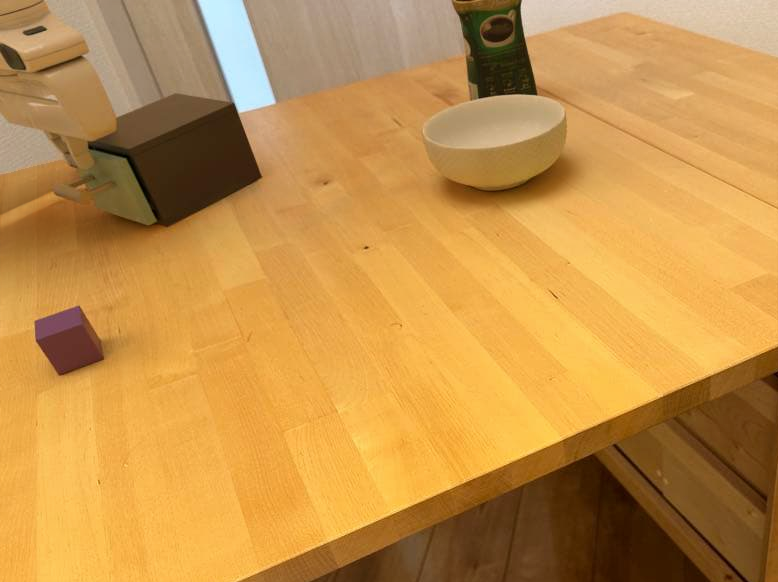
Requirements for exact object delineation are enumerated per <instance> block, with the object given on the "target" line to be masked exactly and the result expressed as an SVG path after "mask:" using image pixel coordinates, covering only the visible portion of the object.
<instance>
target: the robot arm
mask: <svg viewBox="0 0 778 582" xmlns="http://www.w3.org/2000/svg"><path fill="white" fill-rule="evenodd" d="M89 52H90V49H89V46H88V44H87V41H86V40H85V38H84V36H83V35H82V33H81V32H80V31H79V30H77V29H75V28H74V27H72V26H70V25H69V24H67V23H65V22H64V21H63V20H62V19H60V18H59V17H58V16H57V15H56V14H55V13H54V12H51V10H50V8H49V6H48V4H47V2H46V0H0V114H1V116H3V118H4V119H5V120H6V121H7V122H8V123H10V124H13V125H18V126H22V127H25V128H30V129H34V130H39V131H43V133H44V134H45V136H46V138H47V140H48V141H49V142H50V143H51V144H52V145H53V146H54V147H55V149H56V150H58V152H59V153H60V154H61V156H62V157H63V159H64V161H65V162H66V164H67V166H68V167H71V168H73V169H74V168H78V169H82V170H86V169H88V168H90V167H93V166H94V160H93V158H92V156H91V155H90V153H89V151H88V150H89V149H88V142H87V141H94V140H97V139H99V138H102V137H104V136H107V135H109V134H111V133H113V132H115V131H116V130H117V119H116V118H117V116H116V113H115V110H114V108H113V105H112V103H111V100H110V98H109V96H108V94H107V92H106V89H105V87H104V85H103V83H102V81H101V79H100V77H99V75H98V72H97V71H96V69H95V67H94V66H93V64H92V63H91V62H90V61H89V60H88V59H87V58H86V57H85V55H86V54H89Z"/></svg>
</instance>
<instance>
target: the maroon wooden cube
mask: <svg viewBox="0 0 778 582" xmlns="http://www.w3.org/2000/svg"><path fill="white" fill-rule="evenodd" d="M33 322H34V324H33V325H34V337H35V340H34V341H35V342H36V344H37V345H38V347H39V348H40V349H41V351H42V353H43V354H44V355H45V357H46V358H47V361H49V363H50V364H51V366H52V367H53V369H54V370H55V372H56V373H57V375H58V376H61V375H64V374H67V373H69V372H72V371H75V370H78V369H80V368H84V367H85V366H88V365H91V364H94V363H96V362H99V361H102V360H104V359H105V358H104V357H105V356H104V353H103V352H104V351H103V348H102V343H101V339H100V337H99V335H98V333H97V332H96V330H95V328H94V327H93V325H92V324H91V322H90V320H89V319H88V317H87V316H86V314H85V312H84V310H83V309H82V307H81V305H75V306H73V307H70V308H67V309H64V310H62V311H59V312H55V313H53V314H50V315H47V316H44V317H41V318H39V319H36V320H34V321H33Z"/></svg>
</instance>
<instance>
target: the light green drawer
mask: <svg viewBox="0 0 778 582" xmlns="http://www.w3.org/2000/svg"><path fill="white" fill-rule="evenodd" d="M92 148H93V150H91V149H89V150H88V151H89V153H90V155H91V156H92V158H93V160H94V166H93V167H90V168H88V169H86V170H82V169H78V168H76V171H77V173H78V174H79V176H80V178H78V179H75V180H73V181H71V182H69V183H67V184H63V183H61V182H60V183H59V182H58V183H55V184H54V185H53V187H52V193H53V194H54V195H55V196H56V197H60V198H63V199H66V200H69V201H72V202H75V203H77V204H81V205H89V204H90V203H91V202H92V201H93V202H94V204H95V206H96V208H97V209H98V211H102V212H105V213H108V214H111V215H115V216H118V217H121V218H124V219H127V220H130V221H133V222H135V223H138V224H142V225H144V226H151V225H153V224H155V222H157V220H156V218H155V216H154V214H153V212H152V210H151V209H153V210H155V208H154V206H153V204H152V202H151V200H150V198H149V196H148V194H147V192H146V190H145V188H144V186H143V184H142V182H141V180H140V178H139V176H138V173H137V171H136V169H135V167H134V165H133V163H132V161H131V159H130V157H129V155H125V154H121V153H116V152H112V151H108V150H104V149H100V148H96V147H92ZM83 185H85V188H86V189H87V191H86V190H83V189H80V188H78V187H81V186H83Z"/></svg>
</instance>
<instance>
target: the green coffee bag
mask: <svg viewBox="0 0 778 582" xmlns="http://www.w3.org/2000/svg"><path fill="white" fill-rule="evenodd" d="M522 2H523V0H451V4H452V7H453V9H454V10H455V13H456V14H457V17H458V18H459V22H460V25H461V26H460V27H461V32H462V37H463V38H462V39H463V44H464V45H463V46H464V52H465V62H466V75H467V85H468V95H469V101H472V100H477V99H481V98H487V97H494V96H503V95H536V96H538V89H537V83H536V79H535V75H534V70H533V67H532V62H531V58H530V54H529V51H528V46H527V41H526V36H525V30H524V25H523V17H522Z"/></svg>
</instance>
